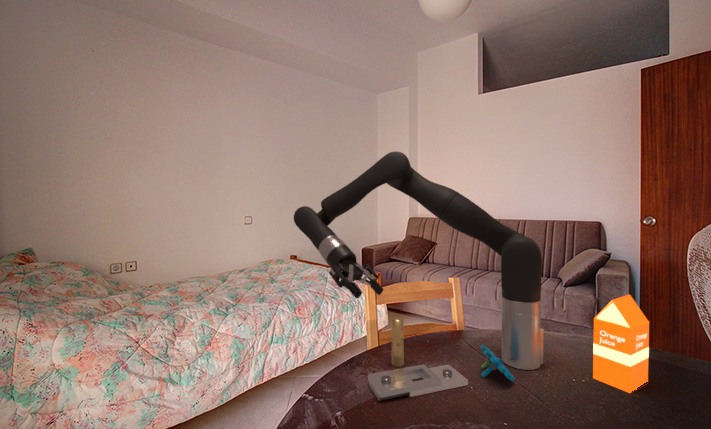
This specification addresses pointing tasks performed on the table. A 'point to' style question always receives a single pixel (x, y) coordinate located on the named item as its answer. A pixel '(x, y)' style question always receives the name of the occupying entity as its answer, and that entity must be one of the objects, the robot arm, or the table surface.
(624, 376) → the orange juice
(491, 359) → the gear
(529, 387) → the table surface
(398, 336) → the brass pin
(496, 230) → the robot arm
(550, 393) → the table surface
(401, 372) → the bolted metal plate
